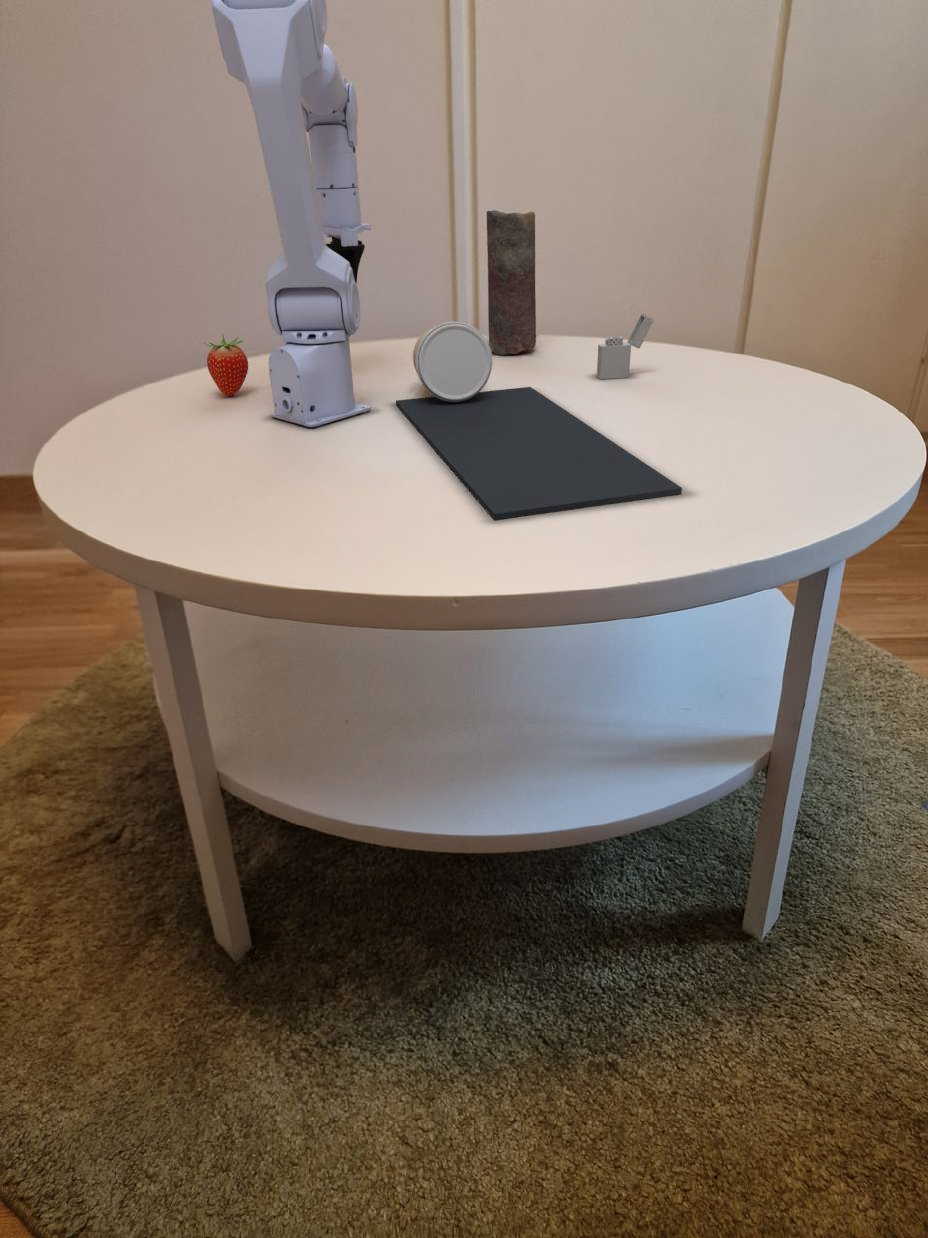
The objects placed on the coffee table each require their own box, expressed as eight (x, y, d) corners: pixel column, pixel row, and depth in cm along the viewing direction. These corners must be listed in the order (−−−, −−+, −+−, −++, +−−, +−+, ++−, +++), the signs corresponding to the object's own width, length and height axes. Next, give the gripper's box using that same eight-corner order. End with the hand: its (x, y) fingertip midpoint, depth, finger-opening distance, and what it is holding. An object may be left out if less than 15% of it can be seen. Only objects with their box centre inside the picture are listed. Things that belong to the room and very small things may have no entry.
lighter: (600, 379, 116) (603, 317, 112) (596, 376, 117) (599, 315, 113) (650, 375, 117) (654, 314, 113) (645, 372, 118) (650, 312, 114)
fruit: (219, 390, 116) (209, 329, 112) (256, 390, 116) (247, 329, 112) (207, 401, 111) (196, 338, 107) (246, 400, 111) (236, 337, 107)
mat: (681, 493, 78) (682, 487, 77) (494, 520, 74) (494, 513, 73) (530, 391, 111) (530, 386, 111) (395, 405, 107) (395, 400, 107)
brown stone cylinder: (484, 347, 136) (482, 208, 126) (529, 344, 137) (530, 206, 127) (494, 357, 130) (492, 212, 120) (540, 354, 131) (543, 209, 121)
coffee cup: (468, 398, 116) (485, 408, 105) (401, 386, 114) (410, 395, 103) (482, 327, 113) (500, 330, 102) (412, 313, 111) (423, 314, 100)
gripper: (377, 188, 105) (385, 304, 111) (357, 184, 117) (365, 289, 123) (320, 190, 103) (332, 308, 110) (305, 186, 115) (316, 293, 122)
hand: (346, 299), depth 116 cm, fingers closed
